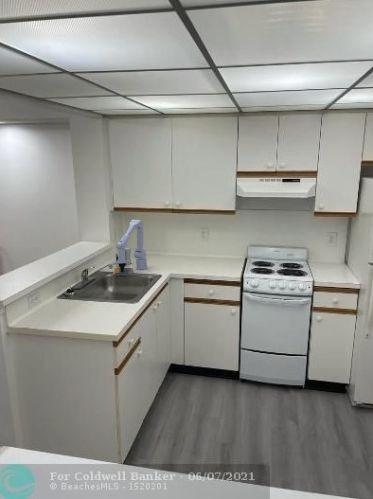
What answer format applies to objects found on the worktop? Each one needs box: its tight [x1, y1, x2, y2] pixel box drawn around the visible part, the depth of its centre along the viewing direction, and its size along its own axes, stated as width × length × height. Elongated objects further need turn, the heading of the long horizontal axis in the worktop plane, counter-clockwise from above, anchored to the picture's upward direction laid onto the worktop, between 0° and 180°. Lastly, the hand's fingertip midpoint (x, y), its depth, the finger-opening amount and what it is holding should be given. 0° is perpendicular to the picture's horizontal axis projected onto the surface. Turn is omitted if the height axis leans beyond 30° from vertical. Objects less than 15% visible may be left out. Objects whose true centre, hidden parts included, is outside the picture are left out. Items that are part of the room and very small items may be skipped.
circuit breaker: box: [115, 247, 132, 267], centre depth 325 cm, size 8×14×15 cm, turn 152°
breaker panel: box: [112, 264, 134, 277], centre depth 303 cm, size 16×18×4 cm
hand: (122, 272), depth 297 cm, fingers closed
